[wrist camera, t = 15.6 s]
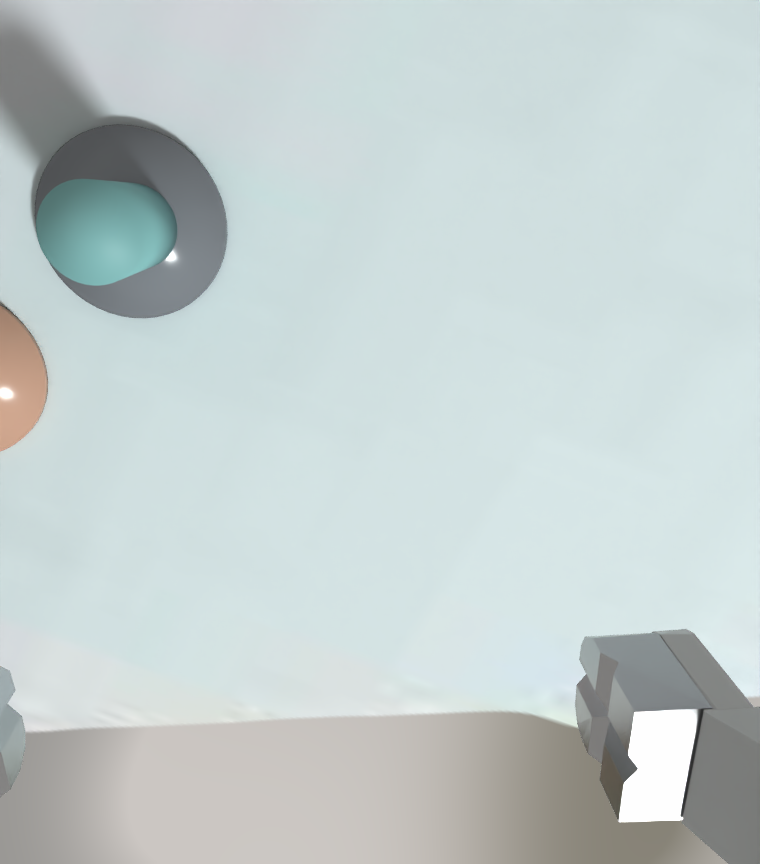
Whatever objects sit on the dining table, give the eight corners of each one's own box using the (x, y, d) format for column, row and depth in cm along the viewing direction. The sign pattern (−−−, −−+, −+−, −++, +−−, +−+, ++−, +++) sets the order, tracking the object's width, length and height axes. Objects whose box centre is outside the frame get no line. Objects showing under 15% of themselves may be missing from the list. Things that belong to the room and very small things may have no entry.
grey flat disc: (217, 123, 32) (215, 122, 32) (235, 313, 35) (235, 314, 35) (20, 127, 31) (17, 126, 31) (57, 320, 34) (54, 321, 34)
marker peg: (172, 181, 32) (135, 177, 26) (181, 267, 34) (149, 284, 27) (86, 183, 32) (27, 179, 26) (99, 269, 33) (46, 287, 27)
